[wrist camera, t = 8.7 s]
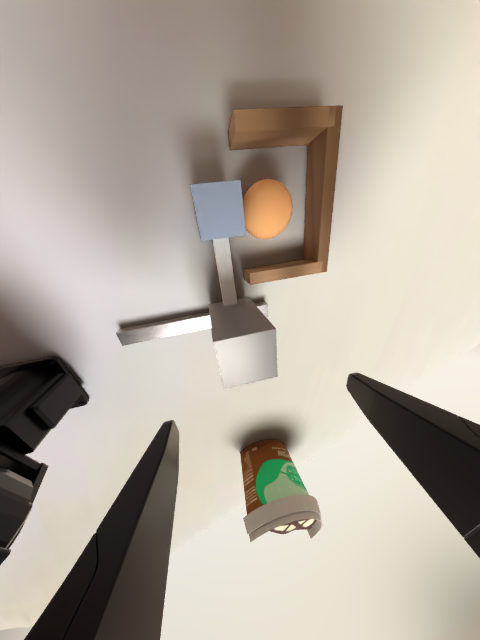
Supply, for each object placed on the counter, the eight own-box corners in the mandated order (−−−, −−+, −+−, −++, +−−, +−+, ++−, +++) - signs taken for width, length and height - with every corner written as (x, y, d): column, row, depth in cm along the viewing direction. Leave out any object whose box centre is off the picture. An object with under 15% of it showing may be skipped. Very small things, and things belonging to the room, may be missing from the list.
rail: (126, 340, 18) (122, 345, 17) (120, 328, 17) (116, 333, 16) (265, 312, 20) (268, 316, 19) (264, 301, 19) (267, 304, 18)
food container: (304, 441, 33) (343, 516, 24) (284, 461, 34) (313, 538, 25) (253, 428, 28) (278, 515, 19) (233, 451, 30) (247, 542, 21)
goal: (244, 279, 18) (250, 284, 15) (228, 132, 13) (233, 109, 11) (311, 267, 19) (326, 271, 16) (320, 127, 14) (342, 105, 12)
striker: (215, 334, 19) (223, 389, 12) (186, 201, 14) (171, 158, 7) (250, 327, 20) (277, 376, 13) (235, 196, 14) (269, 151, 7)
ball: (278, 238, 12) (299, 234, 15) (277, 165, 10) (300, 176, 13) (234, 243, 14) (259, 239, 17) (227, 184, 13) (256, 189, 15)
